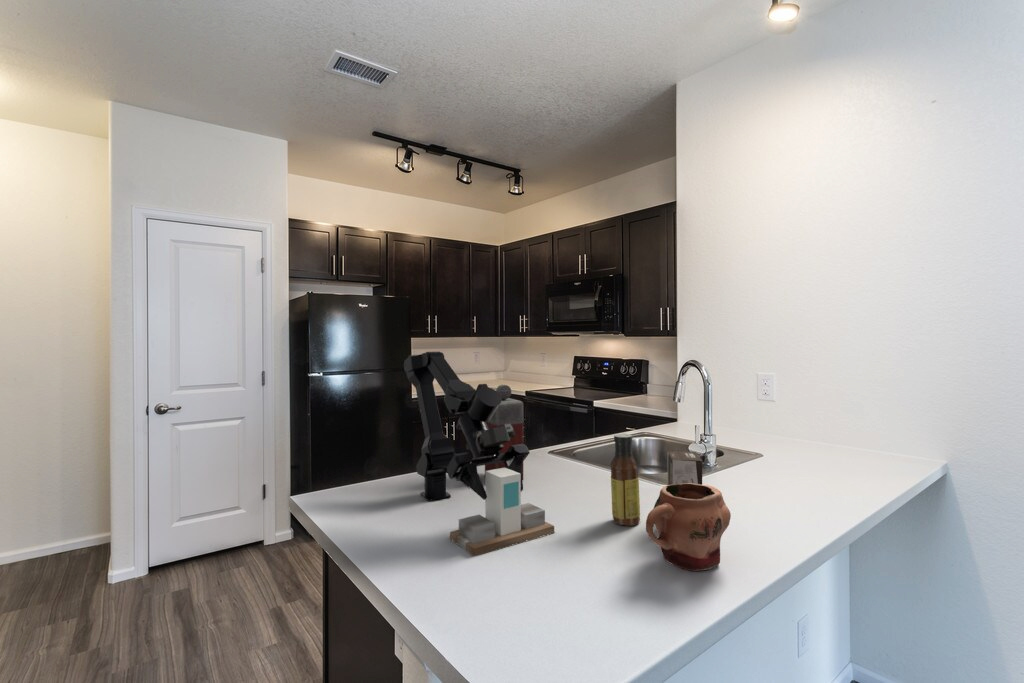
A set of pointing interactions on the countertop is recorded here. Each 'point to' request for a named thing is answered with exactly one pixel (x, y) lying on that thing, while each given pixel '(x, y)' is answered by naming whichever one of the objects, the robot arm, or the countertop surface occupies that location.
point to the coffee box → (684, 468)
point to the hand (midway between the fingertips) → (504, 494)
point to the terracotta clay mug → (689, 525)
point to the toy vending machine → (507, 421)
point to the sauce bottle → (625, 483)
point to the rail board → (482, 538)
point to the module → (503, 500)
